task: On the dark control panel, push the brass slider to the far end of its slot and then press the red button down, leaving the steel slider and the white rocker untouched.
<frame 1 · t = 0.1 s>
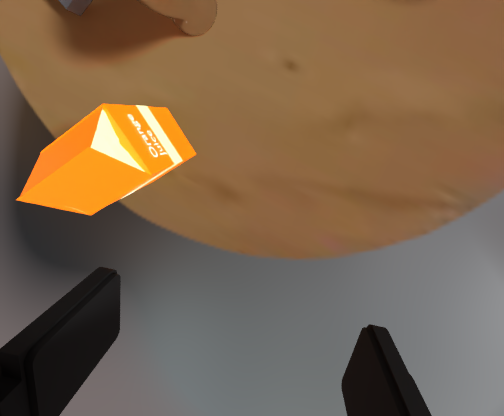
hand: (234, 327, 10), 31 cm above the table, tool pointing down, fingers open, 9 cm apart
orange juice: (159, 147, 41), on the table
beer glass: (194, 8, 34), on the table
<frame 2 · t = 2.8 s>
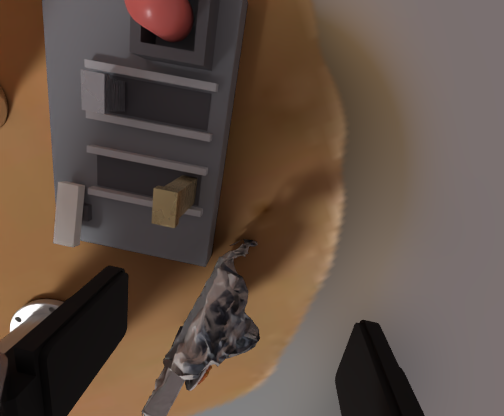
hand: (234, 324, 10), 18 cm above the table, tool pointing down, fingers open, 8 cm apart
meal: (222, 286, 32), on the table
rocker: (69, 214, 26), point 4 cm above the table, hinge at 10.0°
button: (161, 7, 18), point 6 cm above the table, slide at 0.0 cm
panel: (147, 132, 27), on the table
brass slider: (177, 197, 23), point 6 cm above the table, slide at 0.0 cm
steel slider: (105, 93, 22), point 4 cm above the table, slide at 7.0 cm
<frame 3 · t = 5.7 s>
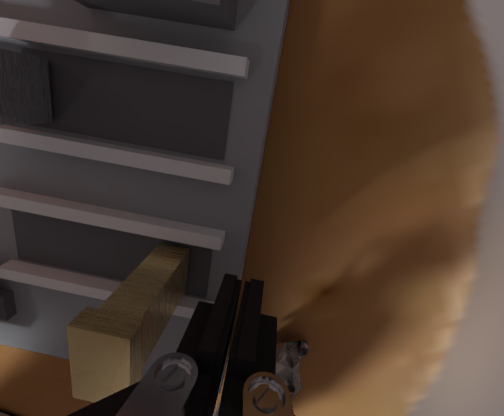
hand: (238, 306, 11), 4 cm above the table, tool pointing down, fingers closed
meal: (245, 400, 20), on the table
panel: (111, 158, 15), on the table
brass slider: (145, 306, 10), point 6 cm above the table, slide at 0.7 cm, touching gripper
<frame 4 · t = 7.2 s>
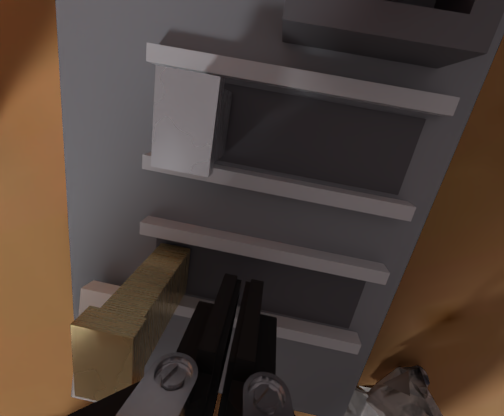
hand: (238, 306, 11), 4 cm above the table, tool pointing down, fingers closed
rocker: (100, 343, 14), point 4 cm above the table, hinge at 10.0°
panel: (244, 184, 14), on the table
brass slider: (147, 305, 11), point 6 cm above the table, slide at 8.0 cm, touching gripper
steel slider: (199, 122, 9), point 4 cm above the table, slide at 7.0 cm
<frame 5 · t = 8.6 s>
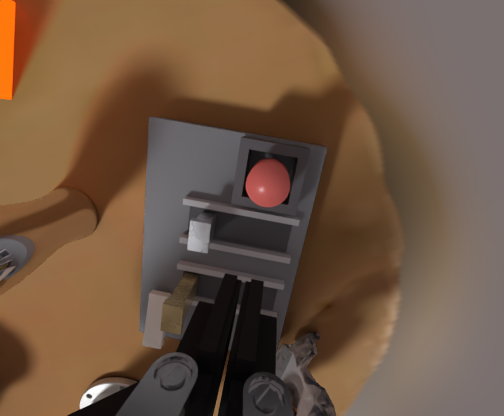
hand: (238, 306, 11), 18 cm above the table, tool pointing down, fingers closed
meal: (282, 367, 35), on the table
rocker: (156, 319, 29), point 4 cm above the table, hinge at 10.0°
button: (268, 181, 21), point 6 cm above the table, slide at 0.0 cm
panel: (224, 242, 30), on the table
brass slider: (182, 299, 26), point 6 cm above the table, slide at 8.0 cm
beer glass: (73, 212, 31), on the table
steel slider: (203, 230, 25), point 4 cm above the table, slide at 7.0 cm
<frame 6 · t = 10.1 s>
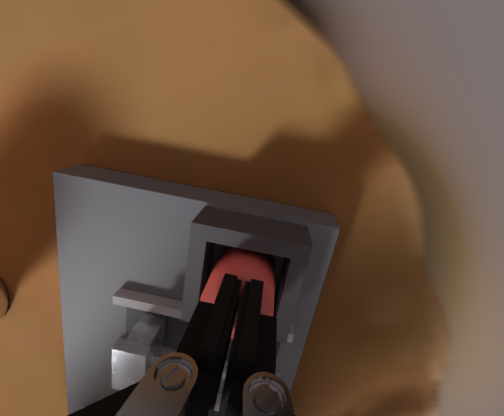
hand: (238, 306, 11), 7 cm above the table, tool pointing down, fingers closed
button: (241, 285, 13), point 5 cm above the table, slide at 1.3 cm, touching gripper
panel: (187, 337, 21), on the table
steel slider: (142, 348, 16), point 4 cm above the table, slide at 7.0 cm
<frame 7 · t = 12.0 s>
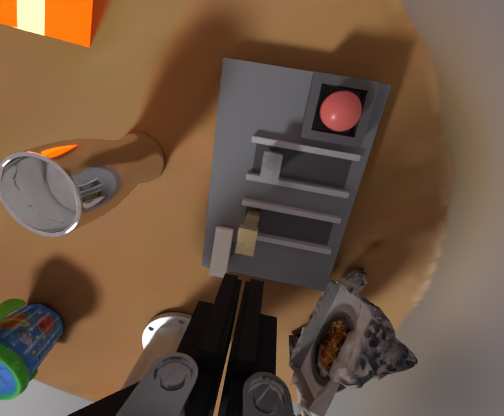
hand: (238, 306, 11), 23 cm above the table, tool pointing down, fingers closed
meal: (328, 304, 38), on the table
rocker: (221, 252, 33), point 4 cm above the table, hinge at 10.0°
snack cup: (46, 318, 47), on the table
button: (338, 110, 25), point 5 cm above the table, slide at 1.5 cm
panel: (281, 183, 33), on the table
brass slider: (250, 229, 29), point 6 cm above the table, slide at 8.0 cm
beer glass: (142, 157, 34), on the table
steel slider: (271, 165, 27), point 4 cm above the table, slide at 7.0 cm
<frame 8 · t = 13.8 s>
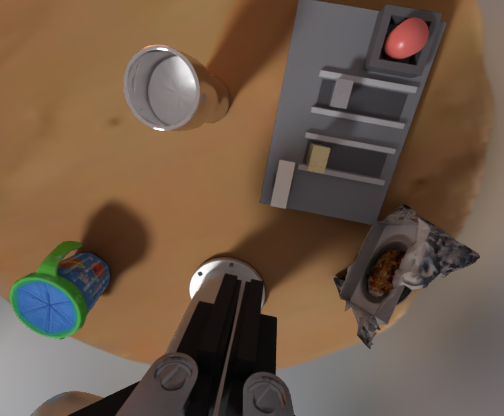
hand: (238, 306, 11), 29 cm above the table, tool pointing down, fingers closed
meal: (372, 244, 41), on the table
rocker: (282, 184, 35), point 4 cm above the table, hinge at 10.0°
snack cup: (92, 269, 48), on the table
button: (403, 41, 28), point 5 cm above the table, slide at 1.5 cm
panel: (337, 123, 36), on the table
brass slider: (315, 156, 32), point 6 cm above the table, slide at 8.0 cm
beer glass: (208, 99, 37), on the table
steel slider: (338, 94, 31), point 4 cm above the table, slide at 7.0 cm
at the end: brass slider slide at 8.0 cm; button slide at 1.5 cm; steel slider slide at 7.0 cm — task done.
